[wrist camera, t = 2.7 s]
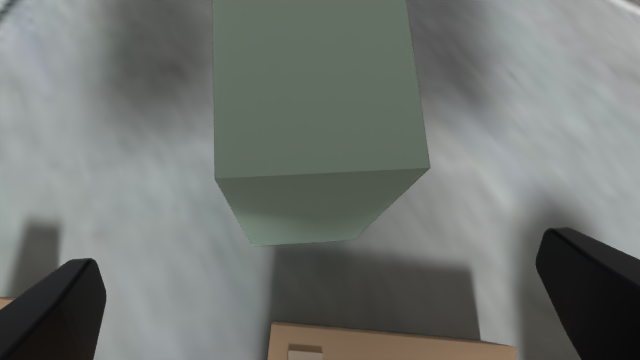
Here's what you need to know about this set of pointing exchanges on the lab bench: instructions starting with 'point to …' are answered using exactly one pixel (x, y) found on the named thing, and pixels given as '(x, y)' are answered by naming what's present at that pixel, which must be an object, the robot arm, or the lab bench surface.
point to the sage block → (314, 115)
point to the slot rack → (368, 344)
